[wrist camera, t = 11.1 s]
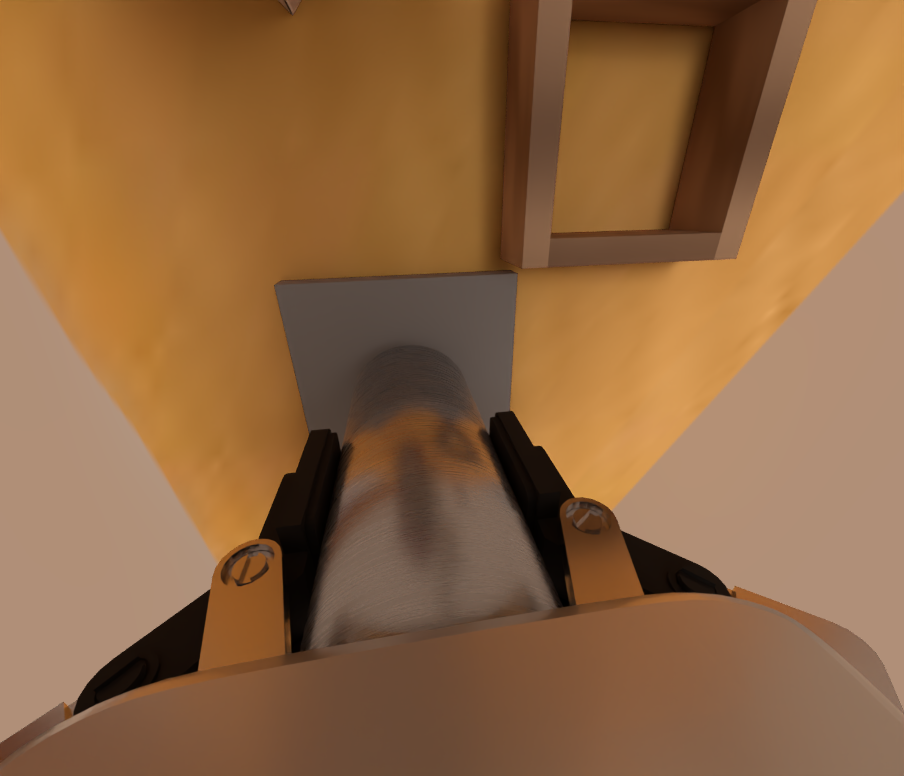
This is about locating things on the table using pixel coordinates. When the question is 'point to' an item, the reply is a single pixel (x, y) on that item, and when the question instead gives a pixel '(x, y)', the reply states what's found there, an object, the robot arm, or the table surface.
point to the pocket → (711, 140)
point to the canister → (420, 513)
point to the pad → (397, 333)
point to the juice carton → (290, 5)
